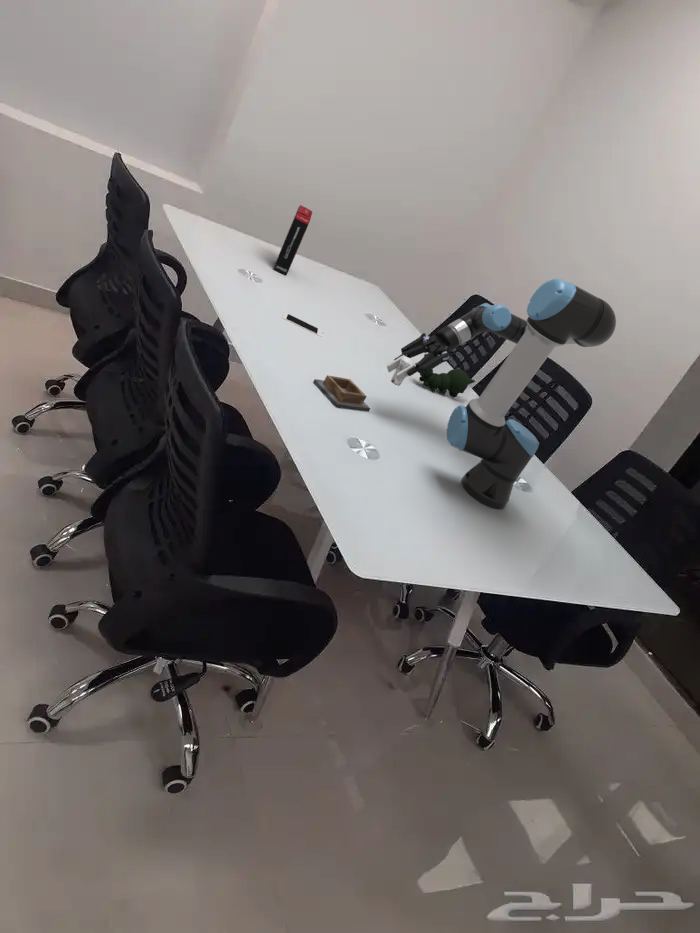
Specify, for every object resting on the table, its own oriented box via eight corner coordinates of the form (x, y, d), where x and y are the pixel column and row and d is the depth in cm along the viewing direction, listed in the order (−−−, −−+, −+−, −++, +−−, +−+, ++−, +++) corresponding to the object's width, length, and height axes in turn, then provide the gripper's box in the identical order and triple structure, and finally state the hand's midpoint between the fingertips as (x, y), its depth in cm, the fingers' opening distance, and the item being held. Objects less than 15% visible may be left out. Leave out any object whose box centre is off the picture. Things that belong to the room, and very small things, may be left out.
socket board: (368, 411, 227) (374, 400, 225) (335, 407, 217) (341, 395, 216) (345, 387, 235) (351, 376, 234) (313, 382, 226) (318, 370, 224)
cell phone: (321, 338, 267) (322, 336, 267) (281, 319, 264) (282, 317, 264) (322, 331, 274) (323, 330, 274) (283, 313, 271) (284, 311, 271)
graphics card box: (286, 276, 314) (312, 218, 302) (271, 269, 312) (297, 210, 300) (288, 267, 329) (314, 211, 317) (275, 260, 327) (299, 204, 315)
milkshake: (402, 390, 225) (418, 363, 221) (387, 381, 225) (403, 354, 220) (404, 385, 229) (420, 359, 225) (389, 377, 229) (405, 350, 225)
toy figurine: (416, 392, 270) (470, 405, 281) (437, 348, 261) (492, 363, 272) (407, 380, 277) (461, 393, 288) (427, 337, 268) (482, 351, 279)
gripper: (471, 358, 225) (410, 397, 221) (437, 330, 236) (379, 366, 231) (469, 341, 219) (407, 380, 215) (435, 313, 230) (375, 350, 225)
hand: (392, 373), depth 223 cm, fingers closed on milkshake, 4 cm apart
